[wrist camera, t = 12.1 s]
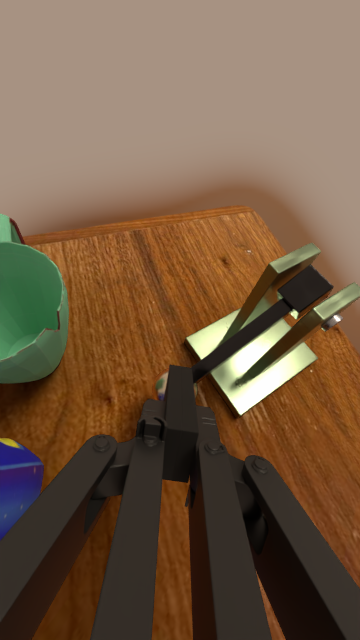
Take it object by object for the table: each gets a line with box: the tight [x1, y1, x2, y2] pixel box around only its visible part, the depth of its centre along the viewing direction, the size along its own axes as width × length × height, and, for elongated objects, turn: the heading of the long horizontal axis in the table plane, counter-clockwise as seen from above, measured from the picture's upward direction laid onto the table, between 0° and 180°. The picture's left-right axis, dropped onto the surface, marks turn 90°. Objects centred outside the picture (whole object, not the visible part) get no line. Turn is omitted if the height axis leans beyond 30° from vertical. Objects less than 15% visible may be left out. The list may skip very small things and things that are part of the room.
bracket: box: [184, 243, 360, 418], centre depth 23 cm, size 11×9×13 cm
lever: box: [152, 265, 333, 401], centre depth 20 cm, size 15×4×4 cm
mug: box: [0, 214, 69, 383], centre depth 22 cm, size 15×10×10 cm
